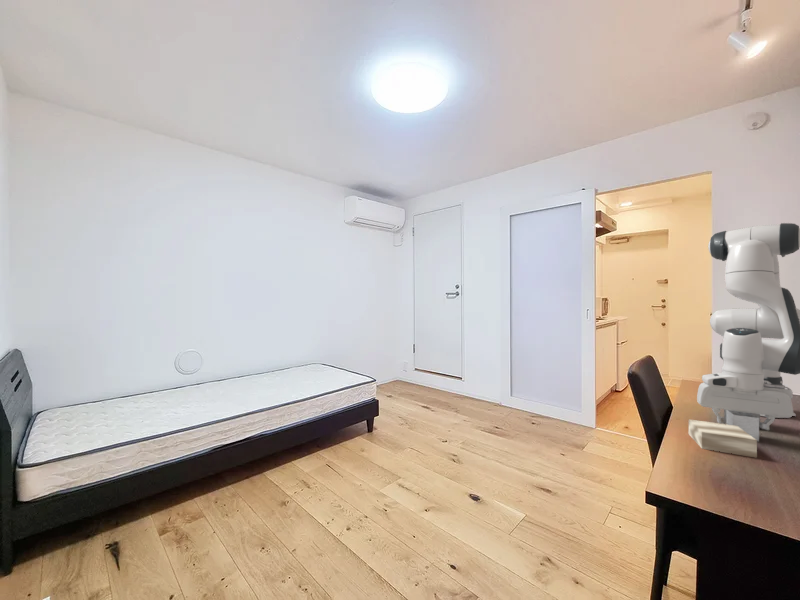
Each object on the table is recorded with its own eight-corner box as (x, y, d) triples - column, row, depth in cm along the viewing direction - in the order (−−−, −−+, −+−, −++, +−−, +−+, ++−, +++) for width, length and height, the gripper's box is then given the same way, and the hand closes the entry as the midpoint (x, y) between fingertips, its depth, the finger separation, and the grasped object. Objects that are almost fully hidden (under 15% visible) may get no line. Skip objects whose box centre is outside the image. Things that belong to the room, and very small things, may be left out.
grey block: (726, 431, 101) (726, 409, 101) (751, 435, 98) (750, 412, 98) (733, 437, 96) (733, 414, 97) (759, 441, 94) (758, 418, 94)
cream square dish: (688, 435, 99) (688, 419, 99) (737, 442, 94) (737, 425, 94) (701, 449, 89) (701, 431, 89) (756, 458, 84) (756, 440, 84)
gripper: (786, 383, 95) (786, 429, 95) (695, 375, 105) (695, 416, 105) (798, 388, 89) (798, 437, 89) (701, 378, 100) (701, 422, 100)
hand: (742, 425), depth 97 cm, fingers open, 8 cm apart
